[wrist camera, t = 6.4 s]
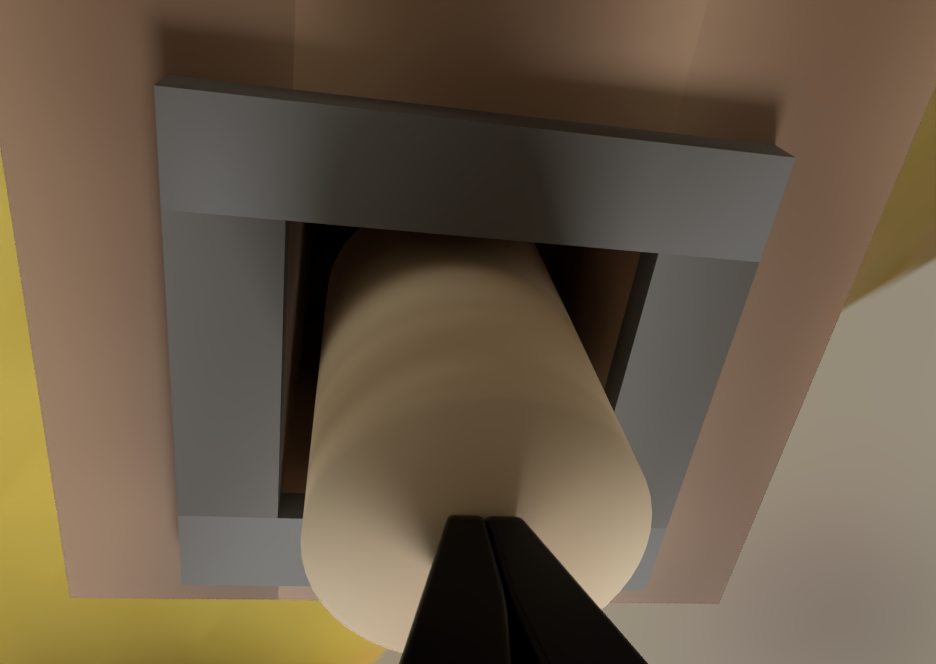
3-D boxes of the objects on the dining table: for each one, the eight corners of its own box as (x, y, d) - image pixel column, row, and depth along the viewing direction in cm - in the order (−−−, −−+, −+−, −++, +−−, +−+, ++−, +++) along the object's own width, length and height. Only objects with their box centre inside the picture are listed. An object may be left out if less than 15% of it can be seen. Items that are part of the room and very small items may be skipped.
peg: (321, 387, 15) (294, 660, 9) (332, 184, 13) (308, 386, 7) (526, 398, 15) (608, 658, 10) (567, 207, 13) (693, 407, 8)
